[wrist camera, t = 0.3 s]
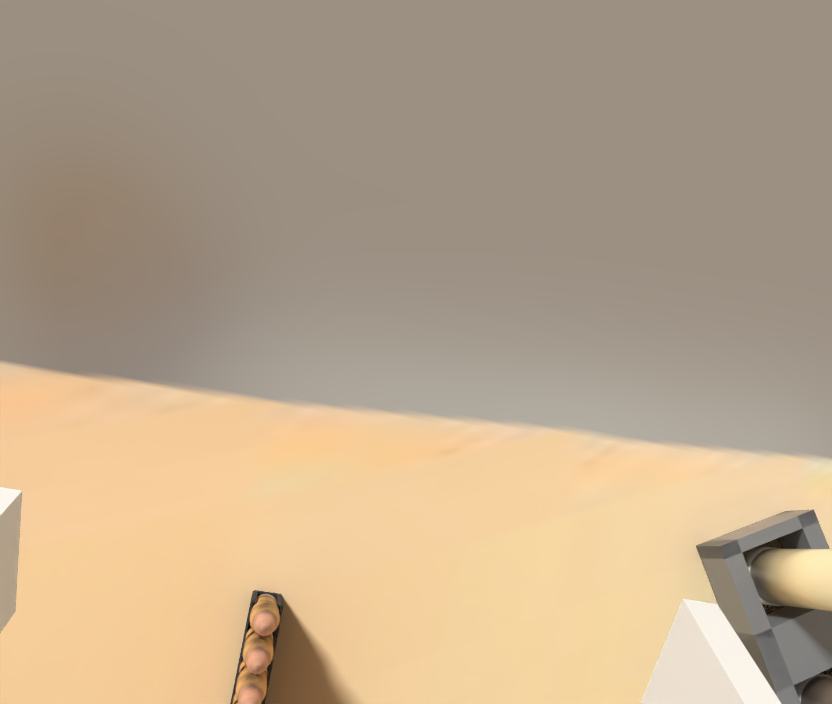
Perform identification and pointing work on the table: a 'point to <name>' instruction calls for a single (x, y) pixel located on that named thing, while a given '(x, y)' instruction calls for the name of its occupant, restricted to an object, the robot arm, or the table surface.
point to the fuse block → (783, 628)
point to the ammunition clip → (258, 648)
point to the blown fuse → (815, 690)
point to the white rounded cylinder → (792, 576)
